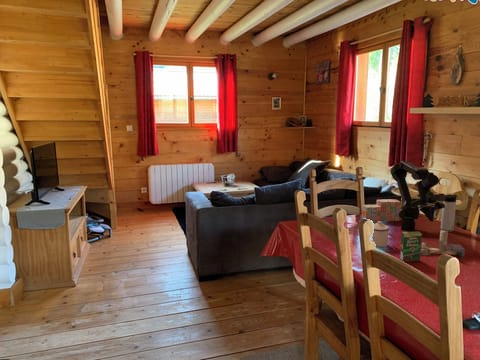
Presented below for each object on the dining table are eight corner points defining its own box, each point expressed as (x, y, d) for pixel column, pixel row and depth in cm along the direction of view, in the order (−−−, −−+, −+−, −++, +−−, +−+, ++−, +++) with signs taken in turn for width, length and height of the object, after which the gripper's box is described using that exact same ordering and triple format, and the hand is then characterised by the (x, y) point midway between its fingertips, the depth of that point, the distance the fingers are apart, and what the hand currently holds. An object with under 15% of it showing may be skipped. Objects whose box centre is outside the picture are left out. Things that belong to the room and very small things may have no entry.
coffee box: (401, 262, 160) (403, 233, 158) (399, 259, 163) (401, 231, 161) (420, 261, 160) (422, 233, 158) (417, 259, 163) (419, 231, 161)
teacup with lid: (388, 242, 185) (389, 220, 182) (387, 248, 176) (389, 225, 174) (363, 239, 189) (364, 217, 187) (362, 245, 181) (363, 222, 179)
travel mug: (455, 232, 198) (459, 196, 195) (442, 231, 199) (445, 196, 196) (451, 228, 204) (455, 194, 201) (438, 228, 206) (442, 193, 202)
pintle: (415, 254, 169) (416, 244, 168) (415, 249, 175) (416, 239, 174) (431, 256, 166) (431, 246, 165) (430, 251, 172) (431, 241, 171)
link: (418, 252, 169) (420, 231, 167) (416, 249, 173) (418, 228, 171) (457, 256, 164) (459, 234, 162) (454, 252, 169) (456, 230, 167)
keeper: (450, 257, 165) (451, 248, 164) (446, 252, 171) (447, 243, 170) (463, 258, 163) (464, 249, 163) (459, 253, 169) (460, 244, 169)
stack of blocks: (365, 222, 219) (366, 202, 216) (361, 219, 225) (362, 200, 223) (399, 220, 221) (401, 201, 218) (394, 218, 227) (395, 198, 224)
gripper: (426, 184, 175) (434, 215, 170) (450, 188, 184) (459, 218, 178) (407, 191, 185) (413, 221, 179) (431, 195, 193) (438, 224, 187)
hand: (431, 221), depth 181 cm, fingers closed
